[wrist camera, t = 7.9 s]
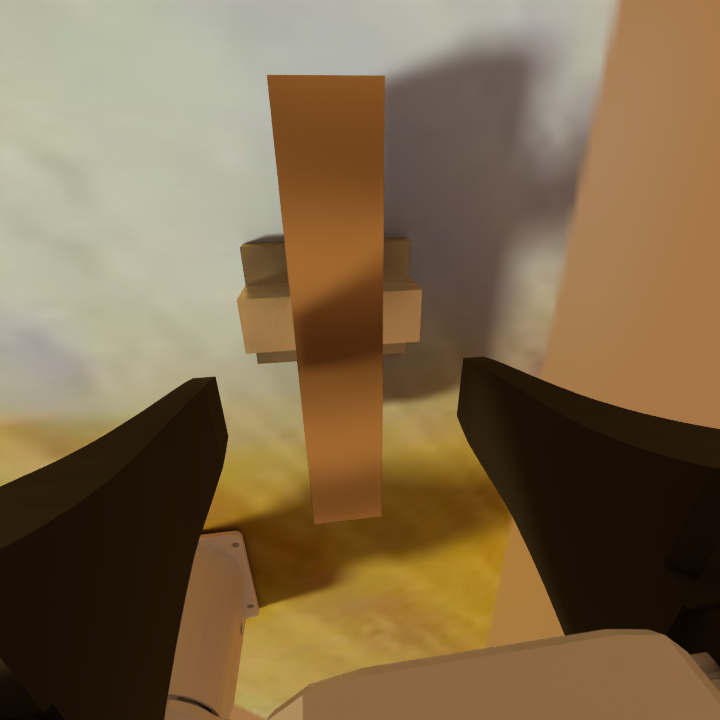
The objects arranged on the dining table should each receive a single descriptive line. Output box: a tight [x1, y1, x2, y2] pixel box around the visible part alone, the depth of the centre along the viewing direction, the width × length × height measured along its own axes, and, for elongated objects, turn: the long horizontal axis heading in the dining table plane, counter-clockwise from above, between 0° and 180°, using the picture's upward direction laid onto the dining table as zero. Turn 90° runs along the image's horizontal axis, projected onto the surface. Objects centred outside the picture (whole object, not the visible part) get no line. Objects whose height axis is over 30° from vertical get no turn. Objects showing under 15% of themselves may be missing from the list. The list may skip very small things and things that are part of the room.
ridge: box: [237, 238, 422, 364], centre depth 18 cm, size 6×8×4 cm
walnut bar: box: [267, 75, 385, 524], centre depth 15 cm, size 16×3×4 cm, turn 1°
